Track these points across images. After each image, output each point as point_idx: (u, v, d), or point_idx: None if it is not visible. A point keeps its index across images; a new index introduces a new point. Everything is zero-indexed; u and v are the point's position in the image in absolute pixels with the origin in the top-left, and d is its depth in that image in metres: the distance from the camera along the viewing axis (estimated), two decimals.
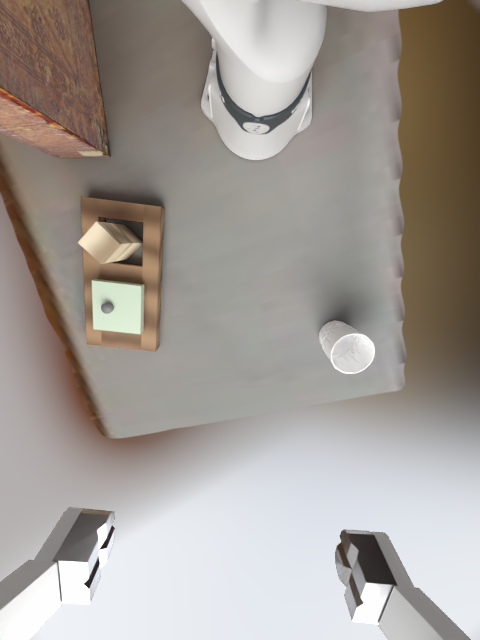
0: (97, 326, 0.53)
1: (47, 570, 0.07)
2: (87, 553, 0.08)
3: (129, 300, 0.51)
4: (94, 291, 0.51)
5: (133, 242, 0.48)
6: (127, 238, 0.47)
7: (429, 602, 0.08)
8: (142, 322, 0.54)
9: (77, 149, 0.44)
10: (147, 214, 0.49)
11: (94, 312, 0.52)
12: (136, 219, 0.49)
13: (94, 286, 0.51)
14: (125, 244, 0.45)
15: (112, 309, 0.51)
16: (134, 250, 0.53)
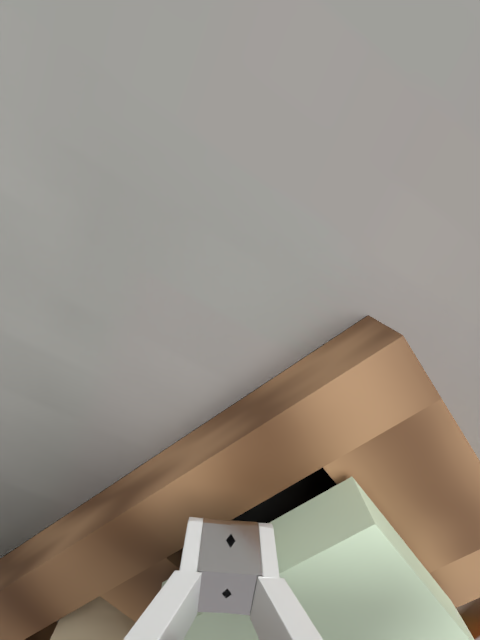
0: None
1: (195, 581, 0.08)
2: (225, 563, 0.08)
3: (249, 638, 0.10)
4: None
5: None
6: None
7: (291, 593, 0.08)
8: (309, 525, 0.10)
9: None
10: None
11: None
12: None
13: None
14: None
15: None
16: None
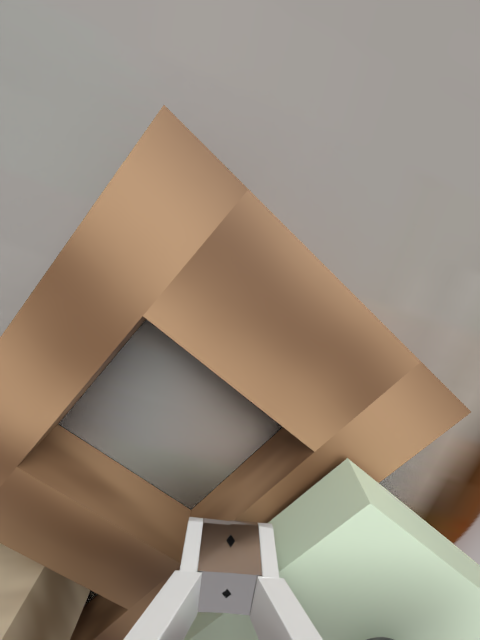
0: None
1: (195, 580, 0.08)
2: (226, 563, 0.08)
3: None
4: None
5: None
6: None
7: (290, 593, 0.08)
8: (311, 514, 0.10)
9: None
10: None
11: None
12: None
13: None
14: None
15: None
16: None
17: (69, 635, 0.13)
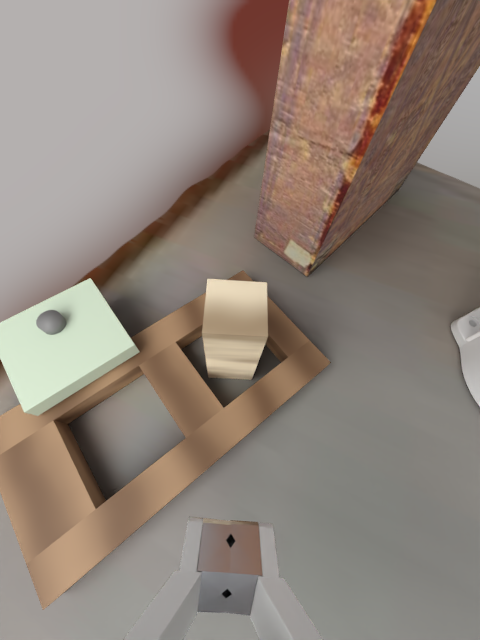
0: None
1: (195, 581, 0.08)
2: (225, 563, 0.08)
3: (91, 345, 0.24)
4: (72, 290, 0.27)
5: (256, 363, 0.24)
6: None
7: (291, 593, 0.08)
8: (58, 397, 0.23)
9: (296, 235, 0.31)
10: (303, 354, 0.27)
11: (28, 311, 0.25)
12: (282, 345, 0.28)
13: (82, 286, 0.27)
14: (259, 350, 0.21)
15: (53, 330, 0.24)
16: (232, 376, 0.28)
17: None
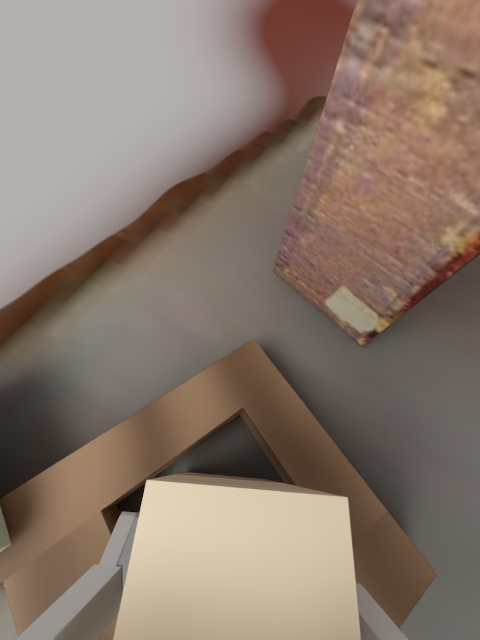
0: None
1: (113, 575, 0.08)
2: None
3: None
4: None
5: None
6: None
7: (369, 598, 0.08)
8: None
9: (356, 282, 0.17)
10: (376, 549, 0.13)
11: None
12: None
13: None
14: None
15: None
16: None
17: None
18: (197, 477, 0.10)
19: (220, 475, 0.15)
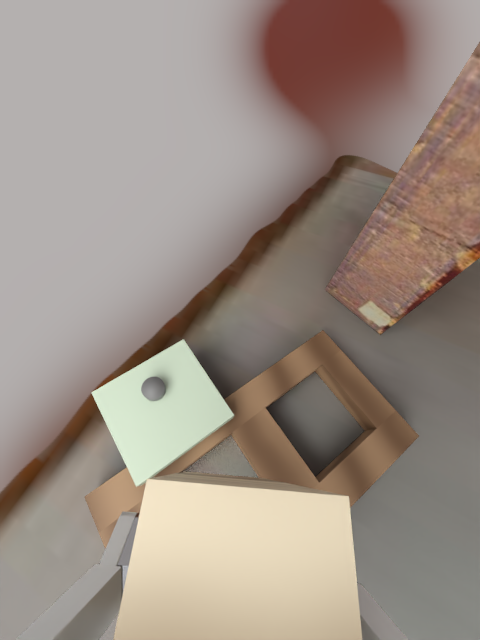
0: (102, 395, 0.25)
1: (113, 575, 0.08)
2: None
3: (193, 414, 0.25)
4: (167, 353, 0.27)
5: None
6: None
7: (369, 598, 0.08)
8: (162, 468, 0.23)
9: (378, 299, 0.32)
10: (391, 425, 0.28)
11: (128, 374, 0.26)
12: (370, 415, 0.28)
13: (176, 348, 0.27)
14: None
15: (156, 398, 0.24)
16: None
17: None
18: (197, 476, 0.10)
19: None
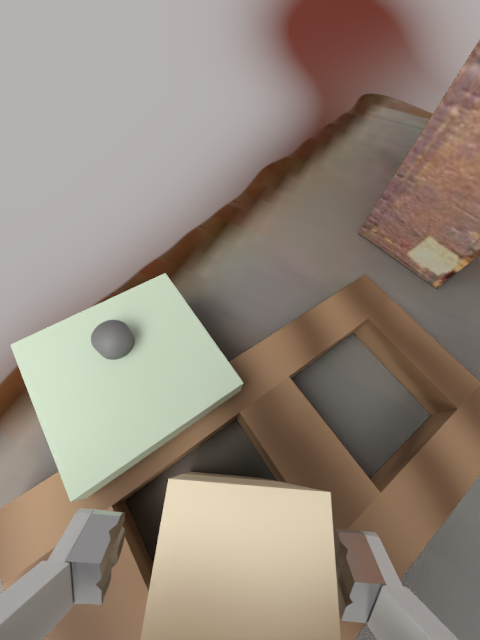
0: (27, 350, 0.15)
1: (60, 571, 0.07)
2: (99, 554, 0.08)
3: (176, 380, 0.15)
4: (140, 290, 0.18)
5: None
6: None
7: (418, 602, 0.08)
8: (123, 469, 0.14)
9: (443, 231, 0.23)
10: (478, 405, 0.18)
11: (75, 319, 0.16)
12: (445, 390, 0.19)
13: (153, 284, 0.18)
14: None
15: (117, 354, 0.15)
16: None
17: None
18: (203, 476, 0.11)
19: (220, 474, 0.16)
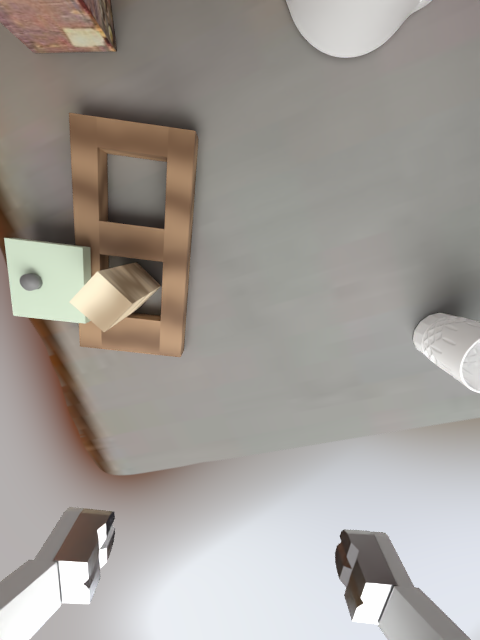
0: (19, 311, 0.35)
1: (47, 570, 0.07)
2: (87, 553, 0.08)
3: (65, 270, 0.33)
4: (10, 255, 0.33)
5: (149, 291, 0.34)
6: (141, 286, 0.33)
7: (429, 602, 0.08)
8: None
9: (62, 20, 0.26)
10: (174, 143, 0.31)
11: (12, 289, 0.34)
12: (156, 152, 0.32)
13: (9, 247, 0.32)
14: (140, 299, 0.31)
15: (38, 284, 0.33)
16: (149, 296, 0.38)
17: None
18: None
19: None
